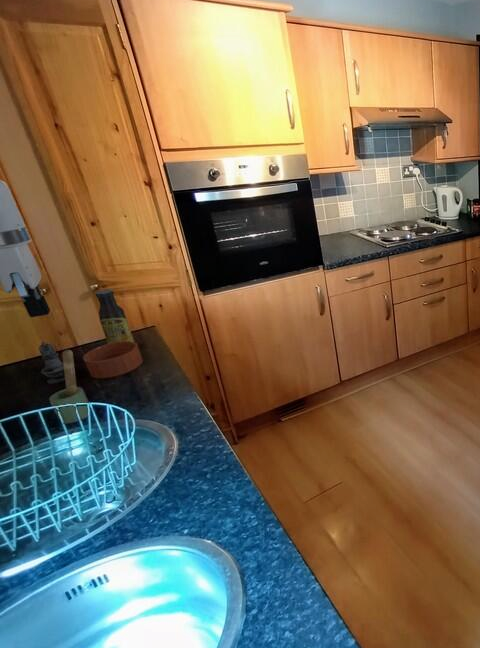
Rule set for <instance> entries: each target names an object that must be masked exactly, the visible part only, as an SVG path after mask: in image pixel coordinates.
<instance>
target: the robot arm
mask: <svg viewBox="0 0 480 648" xmlns="http://www.w3.org/2000/svg"><path fill="white" fill-rule="evenodd" d="M32 242H33V240H32V238H31V234H30V233H29V230H28V229H27V226H26V225H25V221H24V220H23V217H22V215H21V212H20V211H19V208H18V206H17V204H16V201H15V199H14V197H13V194H12V193H11V190H10V188H9V186H8V184H7V183H6V182H5V181H4V180H2V179H0V285H1V287H2V290H3V291H4V293H7V294H10V293H12V292H13V290H14V289H16V292H17V293H18V296H19V298H20V299H21V301H22V303H23V305H24V307H25V310H26V312H27V314H28V316H29V317H30V318H36V317H42V316H47V315H49V313H50V312H51V309H50V307H49V304H48V303H47V300H46V298H45V296H44V295H43V292H42V289H41V287H40V285H39V284H40V282H41V280H42V273H41V271H40V268H39V266H38V264H37V261H36V259H35V257H34V255H33V253H32V251H31V248H30V247H29V245H28V244H30V243H32Z"/></svg>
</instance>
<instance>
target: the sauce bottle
mask: <svg viewBox="0 0 480 648" xmlns="http://www.w3.org/2000/svg"><path fill="white" fill-rule="evenodd" d="M95 296H96V298H97V299H98V303H99V309H98V317H99V318H98V319H99V323H100V325H101V329H102V331H103V334H104V337H105V340H106V342H107V343H106V344H110V343H114V342H121V341H132V342H135V339H134V337H133V334H132V331H131V328H130V325H129V321H128V318H127V316H126V314H125V311H124V309H123V307H121V306H120V305H118V303H117V301H116V298H115V292H114V290H113V289H111V288H105V289H100V290H97V291H96V292H95Z"/></svg>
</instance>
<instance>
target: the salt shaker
mask: <svg viewBox="0 0 480 648" xmlns="http://www.w3.org/2000/svg"><path fill="white" fill-rule="evenodd" d="M38 351H39V353H40V355H41V357H40V359H41V360H43V362H44V364H45V365H44V366H45V367H44V368H42V369H41V370H40V373H41V374H43V375H44V376H45V377H46V378H49V379H47V383H48V384H50V385H51V384H59V383H62V382H66V381H65V373H64V365H63V361H61V359H60V358H59V353H58V352H56V350H55V348H54V345H53V344H52V343H48V342H47V343H46V342H45V341H42V342H41V344H40V345H39V346H38Z"/></svg>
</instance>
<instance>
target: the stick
mask: <svg viewBox="0 0 480 648" xmlns="http://www.w3.org/2000/svg"><path fill="white" fill-rule="evenodd" d="M61 356H62V362H63V365H64V373H65V381H64V382H65V389H66V390H67V397H70V396H72V395H74V394H75V393H77V387H78V385H77V377H76V369H75V361H74V360H75V359H74V353H73V351H72V350H70V349H65V350H63V351H62V353H61Z"/></svg>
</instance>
